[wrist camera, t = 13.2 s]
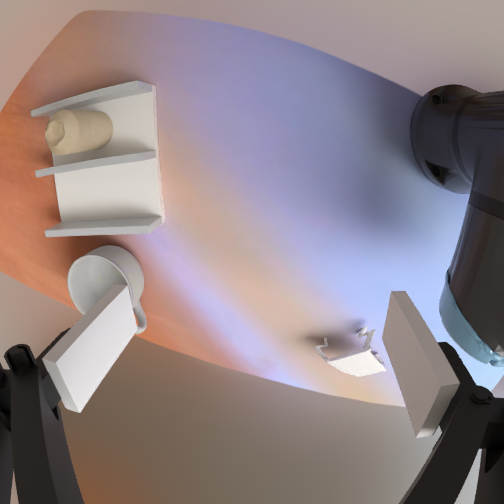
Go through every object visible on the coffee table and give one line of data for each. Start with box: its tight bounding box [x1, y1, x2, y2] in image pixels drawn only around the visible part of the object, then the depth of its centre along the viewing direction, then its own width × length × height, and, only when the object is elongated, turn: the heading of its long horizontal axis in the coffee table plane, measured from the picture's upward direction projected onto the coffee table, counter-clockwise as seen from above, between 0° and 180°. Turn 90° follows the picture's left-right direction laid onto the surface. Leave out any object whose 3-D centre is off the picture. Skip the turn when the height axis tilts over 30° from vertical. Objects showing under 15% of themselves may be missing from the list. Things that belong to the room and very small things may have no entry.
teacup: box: [67, 245, 147, 334], centre depth 44 cm, size 14×11×8 cm
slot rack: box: [31, 80, 165, 237], centre depth 39 cm, size 18×19×6 cm
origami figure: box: [315, 326, 387, 377], centre depth 46 cm, size 12×8×5 cm
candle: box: [45, 110, 113, 155], centre depth 34 cm, size 6×6×10 cm
